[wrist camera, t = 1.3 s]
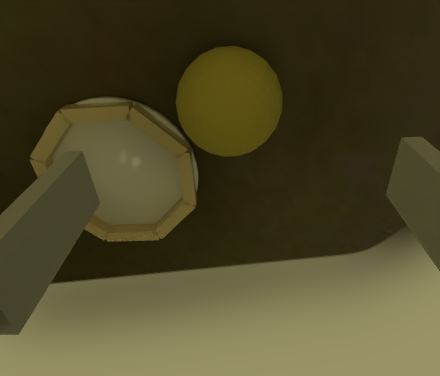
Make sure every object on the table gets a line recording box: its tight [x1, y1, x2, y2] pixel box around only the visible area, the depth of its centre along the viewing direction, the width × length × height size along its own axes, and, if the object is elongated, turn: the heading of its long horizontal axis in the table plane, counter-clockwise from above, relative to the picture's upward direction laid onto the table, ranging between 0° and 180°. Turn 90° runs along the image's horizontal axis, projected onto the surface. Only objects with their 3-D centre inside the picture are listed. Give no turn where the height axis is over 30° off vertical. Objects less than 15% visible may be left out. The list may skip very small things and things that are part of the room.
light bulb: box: [176, 46, 282, 157], centre depth 21 cm, size 7×7×10 cm
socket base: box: [30, 96, 199, 242], centre depth 30 cm, size 15×15×2 cm
